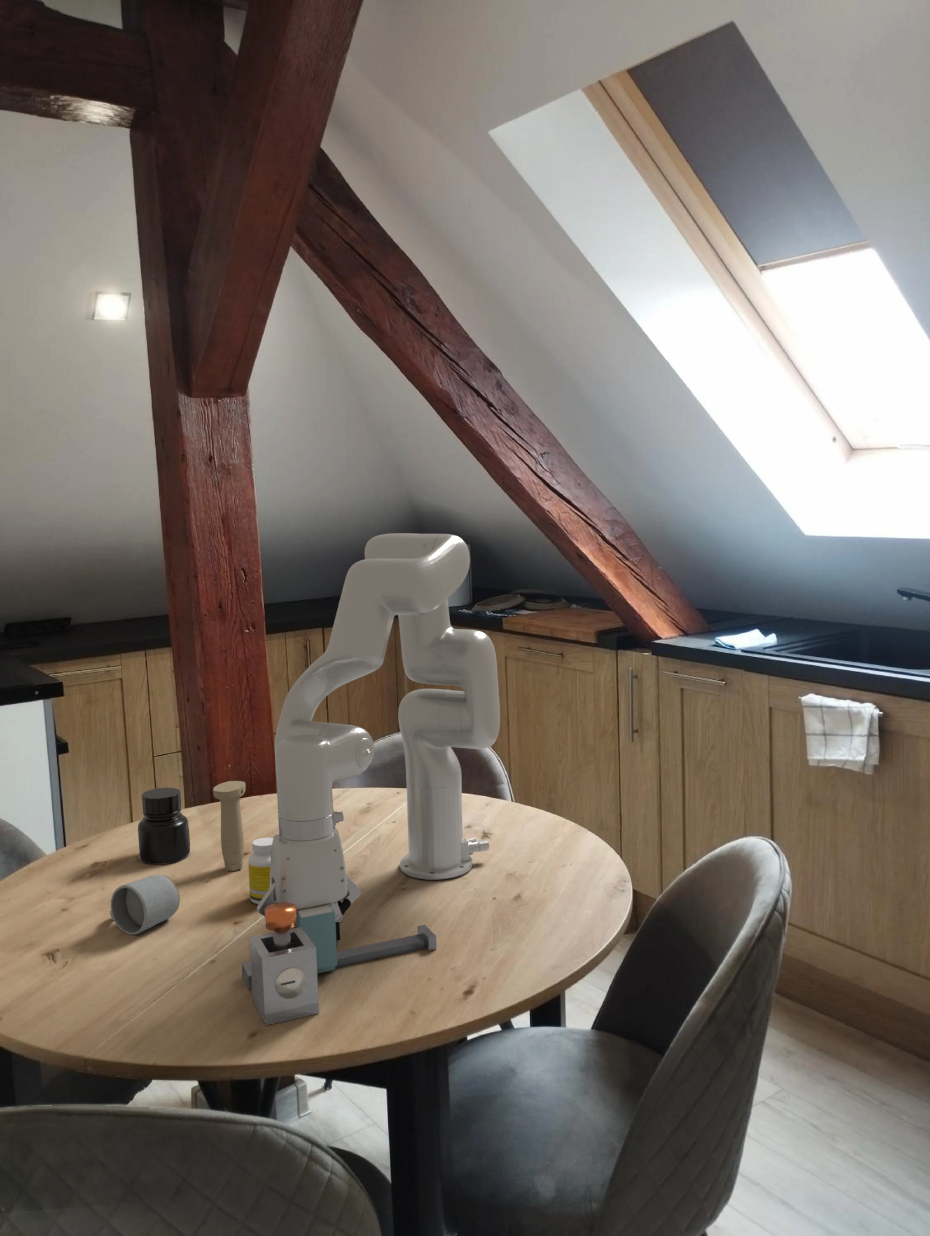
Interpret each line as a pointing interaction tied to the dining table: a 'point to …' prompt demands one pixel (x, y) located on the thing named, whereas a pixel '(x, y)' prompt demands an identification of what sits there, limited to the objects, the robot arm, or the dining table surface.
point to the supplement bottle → (260, 869)
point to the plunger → (281, 923)
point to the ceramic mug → (144, 903)
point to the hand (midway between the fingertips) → (312, 949)
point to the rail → (372, 951)
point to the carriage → (320, 934)
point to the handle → (231, 823)
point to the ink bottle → (163, 827)
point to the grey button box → (284, 977)
